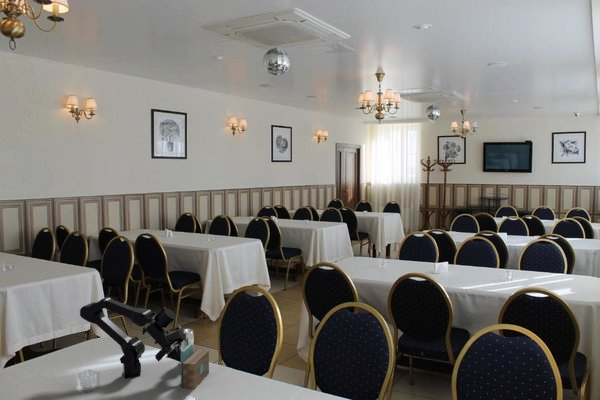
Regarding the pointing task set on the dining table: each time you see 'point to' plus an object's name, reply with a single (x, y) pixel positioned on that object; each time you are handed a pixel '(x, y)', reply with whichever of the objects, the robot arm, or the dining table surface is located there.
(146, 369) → the dining table surface
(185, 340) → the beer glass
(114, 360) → the dining table surface
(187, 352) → the teal fan slab
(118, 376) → the dining table surface
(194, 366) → the block
